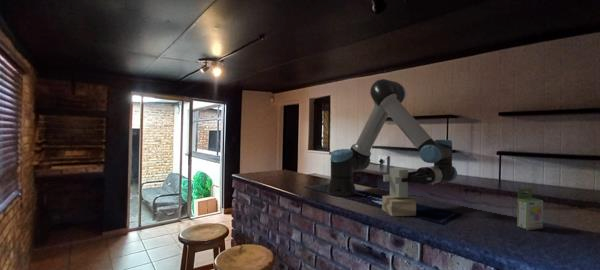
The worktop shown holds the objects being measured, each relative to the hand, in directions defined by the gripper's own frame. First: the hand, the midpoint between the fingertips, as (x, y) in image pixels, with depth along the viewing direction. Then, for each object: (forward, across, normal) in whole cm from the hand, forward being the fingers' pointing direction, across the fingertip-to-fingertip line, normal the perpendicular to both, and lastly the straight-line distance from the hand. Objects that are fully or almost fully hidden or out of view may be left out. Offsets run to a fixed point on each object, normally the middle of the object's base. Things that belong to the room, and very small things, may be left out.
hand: (389, 179), depth 117 cm
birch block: (-5, 0, -14) cm, 15 cm away
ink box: (-31, -35, -14) cm, 49 cm away
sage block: (-5, 0, -7) cm, 9 cm away
